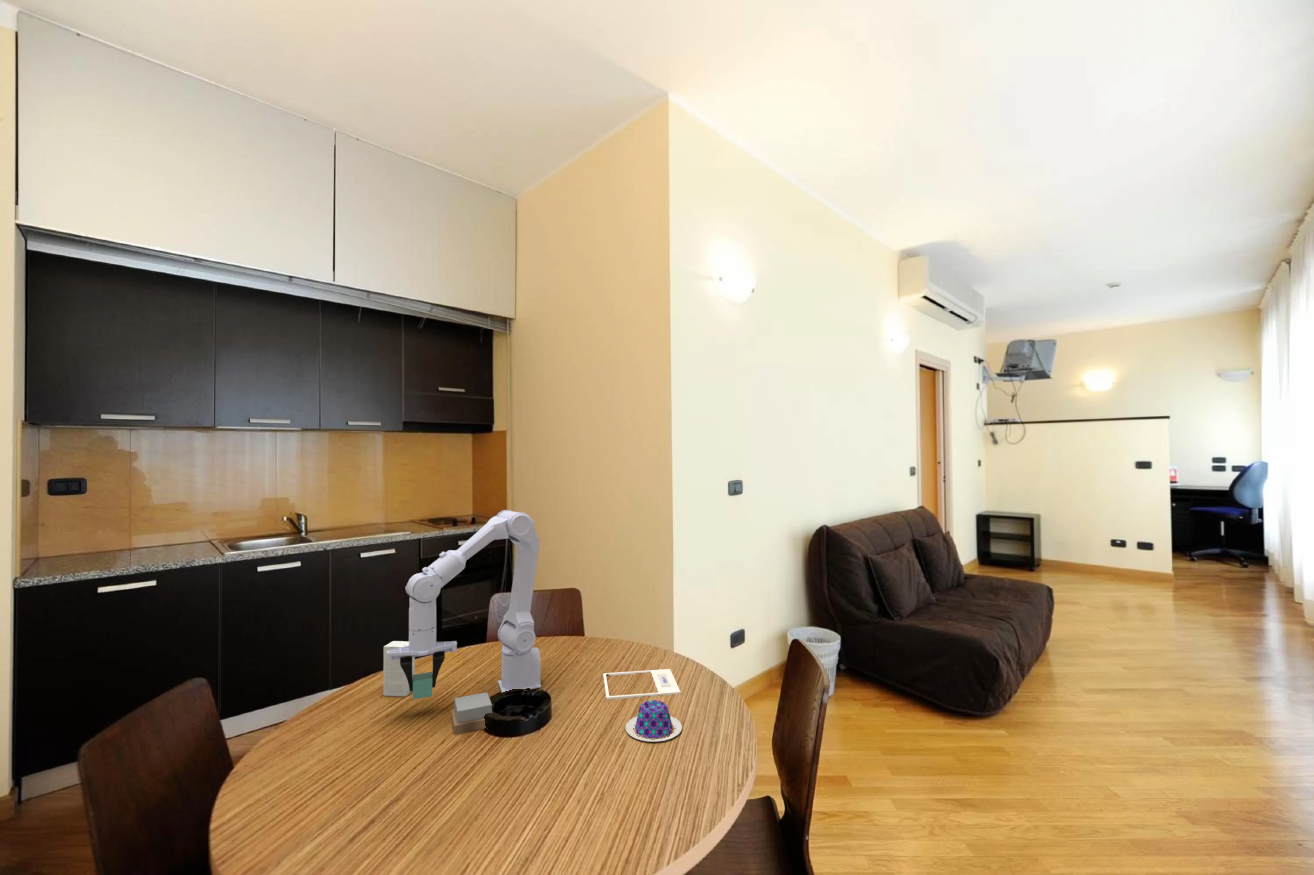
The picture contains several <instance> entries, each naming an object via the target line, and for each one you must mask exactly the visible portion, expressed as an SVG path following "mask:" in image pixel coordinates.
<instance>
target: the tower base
mask: <svg viewBox="0 0 1314 875" xmlns="http://www.w3.org/2000/svg"><path fill="white" fill-rule="evenodd" d="M451 723H452V729H453V730H452V731H453V736H456V735H462V734H467V733H471V732H472V733H473V732H476V731H477V732H478V731H480V730H486V729H485V728H486V726H485V719H484V718H482V719H477V720H472V721H467V722H462V723H457V719H456V714H455V708H453V709H451Z"/></svg>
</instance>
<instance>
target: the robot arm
mask: <svg viewBox="0 0 1314 875" xmlns="http://www.w3.org/2000/svg"><path fill="white" fill-rule="evenodd" d="M535 526H536V521H534V520H533V519H532V518H531V516H530V515H529V514H528V513H525V512H519V511H513V510H510V509H504V510H501V511H499V512H498V513H497V514H496V515H494V516H493V517H491V518H490V519H489V520H488V521H487V523H486V524H484V525H483V526H482V527H481V528H480V529H479V530H478V531H477V532H476V533H474V534H473V535H472V536H471V537H470V538H469V539H467V540H466V541H465V542H464V543H463V544H462V545H461V546H460V547H459V548H457V549H455V550H453V549H452V550H451V549H449V550H447V551H441V553H439V555H438V556H439V557H438V558H437V559H436V560H434V561H433V562H432V563H431V564H430V565H428V566H427V567H426V566H424V567H423V568H422V569H421V571H422V572H419V573H416V574H413V575H412V576H411V577H410V578H409V579H408V582H407V583H406V586H405V592H406V594H407V595H408V596H409V608H408V641H409V646H406V647H402V648H398V649H393V650H388V651H387V662H390V661H392V660H397V659H400V665H401V668H402V669H403V671H404V673H405V675H406V678H407V680H408V684H409V689H410V691H412V692H413V676H412V657H415V658H416V657H424V656H430V655H432V671H431V672H432V689H433V688H436V684H437V680H438V679H437V678H438V676H439V672H440V669H441V668H442V665H443V663H444V662H445V658H446V655H445V653H457V651H458V649H457V648H458V647H457V645H458V642H457V640H452V641H437V598H438V597H439V595H440V594H441V589H442V588H443V587H444V586H445V585H447V584H448V583H449V582H451V580H452V579H454V578H455V577H457V575H459V574H460V573H461V572H462V571H463V570H465V568H466V565H467V564H466V563H467V560H469V559H470V558H472V557H473V556H474V555H476V554H477V553H478V552H479V551H481V550H482V549H483V548H485V547H486V546H488V545H489V544H490V543H491V542H493V541H495V540H496V541H497V540H504V539H505V540H506V539H509V540H510V541H511V542H512V543H513V544H514V546H516V548H517V549H516V557H515V564H514V571H513V579H512V585H511V592H510V598H509V599H510V600H509V606H508V610H507V611H506V612H505V614H504V615H503V618H502V619H503V620H502V622H501V624H500V626H499V628H498V630H497V639H498V640H499V642H500V643H501V646H502V648H501V679H499V680H497V683H498V686H499V689H500V692H501V694H502V693H503V692H505V691H509V690H512V689H526V688H530V690H534V689H539V688H541V687H542V685H541V673H542V672H541V668H542V666H541V665H542V664H541V654H540V653H541V652H540V649H539V647H537V646H536V647H534V646H535V643H536V639H537V638H536V633H535V630H534V629H535V628H534V627H535V621H534V619H533V616H532V614H531V610H532V601H533V594H534V586H535V581H536V572H537V566H538V558H539V551H540V550H539V549H540V539H539V536H538V534H537V530H536V528H535Z"/></svg>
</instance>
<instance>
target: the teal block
mask: <svg viewBox="0 0 1314 875" xmlns="http://www.w3.org/2000/svg"><path fill="white" fill-rule="evenodd" d="M430 697H433V688H432V671H427V672H423V673H415V674H414V675H413V691H412V700H419V699H424V698H430Z"/></svg>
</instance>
